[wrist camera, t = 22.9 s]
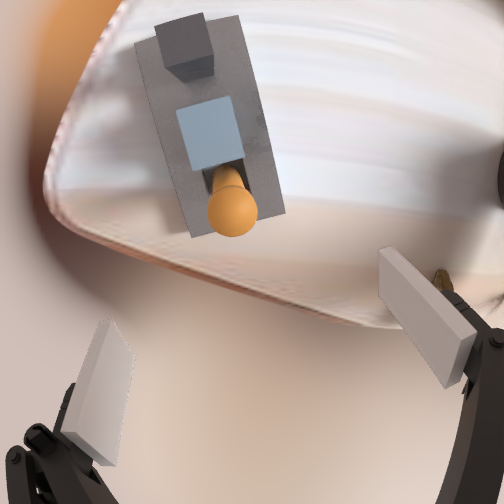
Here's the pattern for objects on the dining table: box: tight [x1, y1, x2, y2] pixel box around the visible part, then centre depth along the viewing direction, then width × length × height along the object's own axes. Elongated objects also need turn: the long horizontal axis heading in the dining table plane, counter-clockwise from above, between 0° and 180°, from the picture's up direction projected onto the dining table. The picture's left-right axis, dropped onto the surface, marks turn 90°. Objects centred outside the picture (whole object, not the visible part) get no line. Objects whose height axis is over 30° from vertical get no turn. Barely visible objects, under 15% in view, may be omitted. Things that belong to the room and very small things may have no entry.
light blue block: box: [176, 96, 245, 171], centre depth 30 cm, size 6×5×7 cm
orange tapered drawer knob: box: [207, 165, 258, 237], centre depth 32 cm, size 4×4×14 cm
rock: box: [433, 270, 454, 292], centre depth 48 cm, size 11×9×10 cm
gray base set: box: [134, 13, 285, 238], centre depth 28 cm, size 25×12×16 cm, turn 13°
